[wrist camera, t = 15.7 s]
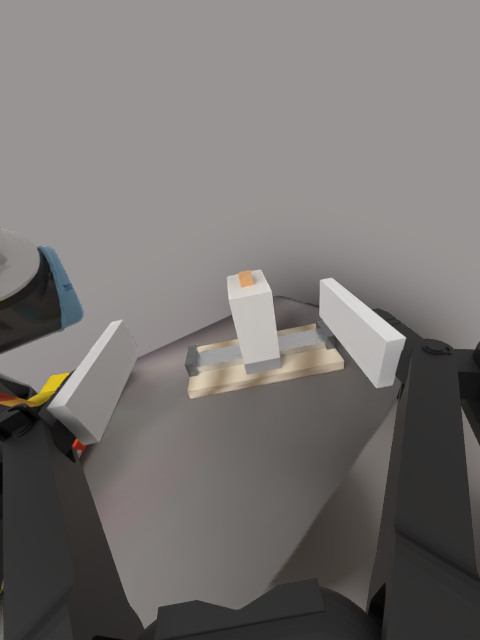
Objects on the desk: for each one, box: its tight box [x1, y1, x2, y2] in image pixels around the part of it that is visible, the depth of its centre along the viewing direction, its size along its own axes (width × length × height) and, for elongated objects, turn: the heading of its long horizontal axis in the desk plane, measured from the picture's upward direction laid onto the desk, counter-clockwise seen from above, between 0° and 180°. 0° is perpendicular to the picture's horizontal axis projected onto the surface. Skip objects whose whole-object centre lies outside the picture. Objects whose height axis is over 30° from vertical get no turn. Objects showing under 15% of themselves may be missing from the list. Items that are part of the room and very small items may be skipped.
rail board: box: [188, 323, 344, 399], centre depth 35 cm, size 22×10×2 cm, turn 95°
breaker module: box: [227, 270, 281, 375], centre depth 32 cm, size 5×8×13 cm, turn 5°
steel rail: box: [185, 320, 336, 377], centre depth 34 cm, size 22×4×2 cm, turn 95°
